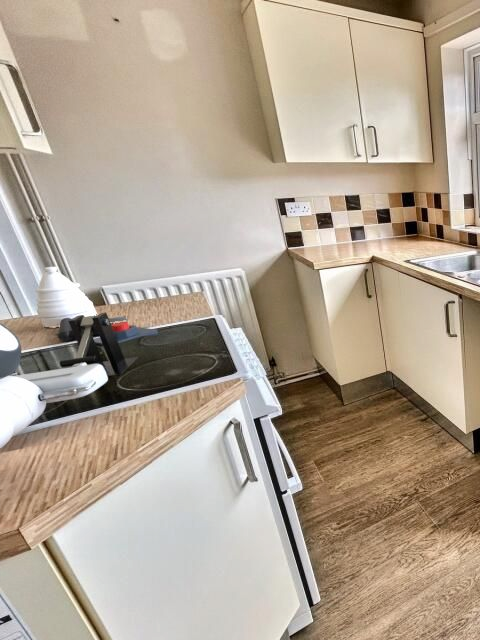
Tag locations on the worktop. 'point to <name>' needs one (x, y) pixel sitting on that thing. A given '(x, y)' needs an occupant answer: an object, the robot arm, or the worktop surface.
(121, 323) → the button
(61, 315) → the honey pot
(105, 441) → the worktop surface
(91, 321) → the lever
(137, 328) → the button box
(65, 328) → the door handle
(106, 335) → the bracket
